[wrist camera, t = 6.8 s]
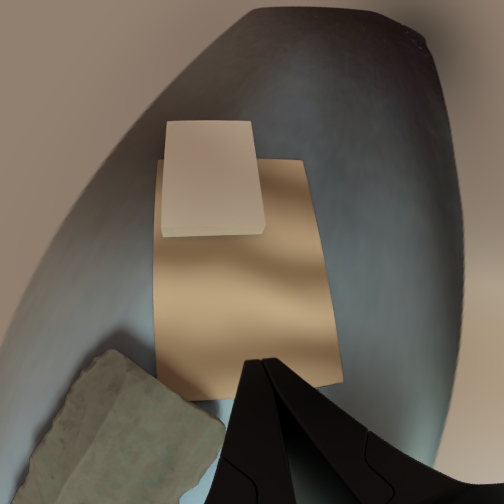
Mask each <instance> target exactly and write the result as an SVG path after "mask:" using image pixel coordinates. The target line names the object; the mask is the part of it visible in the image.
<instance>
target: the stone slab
mask: <svg viewBox="0 0 504 504" xmlns="http://www.w3.org/2000/svg"><path fill="white" fill-rule="evenodd" d="M225 433H226V427H225V425H224V423H223V422H222V421H221V420H220V419H219V418H217V417H216V416H214V415H213V414H211V413H209V412H207V411H206V410H204V409H203V408H201V407H199V406H198V405H196V404H194V403H192V402H190V401H188V400H187V399H185V398H183V397H182V396H180V395H179V394H177V393H176V392H174V391H173V390H172V389H170V388H169V387H167V386H166V385H164V384H163V383H162V382H160V381H159V380H157V379H156V378H154V377H153V376H152V375H150V374H149V373H147V372H146V371H144V370H143V369H142V368H141V367H139V366H138V365H137V364H135V363H134V362H132V361H131V360H130V359H129V358H127V357H126V356H125V355H124V354H122V353H120V352H118V351H117V350H115V349H114V348H110V349H108V350H107V351H105V352H104V353H103V354H101V355H99V356H96V357H94V358H93V360H92V362H91V364H90V365H89V366H88V367H86V368H84V369H83V370H81V372H80V375H79V377H78V378H77V379H76V380H75V381H74V382H73V384H72V386H71V390H70V391H69V392H68V393H67V395H66V399H65V402H64V404H63V406H62V407H61V408H60V410H59V411H58V413H57V415H56V416H55V418H54V419H53V423H52V427H51V428H50V430H49V431H48V432H47V433H46V434H45V436H44V438H43V440H42V441H41V443H40V444H39V445H38V446H37V447H36V448H35V450H34V451H33V453H32V454H31V456H30V465H29V473H28V474H27V476H26V478H25V482H24V484H22V485H21V486H20V487H19V490H18V491H17V493H16V495H15V497H14V499H13V500H12V503H13V504H179V499H180V497H181V496H182V495H183V494H184V493H185V492H186V491H188V490H190V489H192V488H193V487H195V486H196V485H198V483H199V481H200V479H201V478H202V476H203V475H204V474H205V472H206V470H207V469H208V468H209V467H210V465H211V464H212V463H213V462H214V460H215V459H216V458H217V455H218V452H219V450H220V449H221V448H222V446H223V443H224V439H225Z"/></svg>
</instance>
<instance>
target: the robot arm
mask: <svg viewBox="0 0 504 504" xmlns="http://www.w3.org/2000/svg"><path fill="white" fill-rule="evenodd" d="M204 504H504V483H497V484H470V483H465V482H461V481H458V480H455V479H453V478H451V477H449V476H447V475H445V474H443V473H441V472H439V471H436V470H435V469H433V468H431V467H429V466H427V465H425V464H423V463H421V462H419V461H417V460H415V459H413V458H412V457H410V456H408V455H406V454H405V453H403V452H401V451H399V450H398V449H396V448H395V447H393V446H392V445H390V444H389V443H387V442H386V441H384V440H383V439H381V438H380V437H378V436H377V435H376V434H374V433H373V432H372V431H368V429H367V428H366V427H365V426H363V425H362V424H361V423H359V422H358V421H357V420H355V419H354V418H353V417H351V416H350V415H349V414H347V413H346V412H345V411H343V410H342V409H341V408H339V407H338V406H337V405H335V404H334V403H333V402H332V401H330V400H329V399H328V398H326V397H325V396H324V395H323V394H321V393H320V392H319V391H318V390H316V389H315V388H314V387H313V386H311V385H310V384H309V383H308V382H306V381H305V380H304V379H303V378H301V377H300V376H299V375H298V374H296V373H295V372H294V371H293V370H292V369H290V368H289V367H288V366H287V365H285V364H284V363H283V362H282V361H281V360H279V359H278V358H276V357H270V358H262V359H261V360H260V359H247V360H245V361H244V363H243V367H242V371H241V375H240V379H239V383H238V387H237V391H236V395H235V399H234V403H233V407H232V411H231V415H230V419H229V423H228V427H227V431H226V435H225V439H224V443H223V446H222V450H221V454H220V458H219V461H218V465H217V469H216V472H215V475H214V479H213V482H212V485H211V488H210V491H209V493H208V496H207V498H206V500H205V503H204Z"/></svg>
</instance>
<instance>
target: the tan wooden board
mask: <svg viewBox="0 0 504 504" xmlns="http://www.w3.org/2000/svg"><path fill="white" fill-rule="evenodd" d="M256 160H257V167H258V173H259V180H260V187H261V194H262V201H263V208H264V216H265V223H266V226H265V228H264V231H263V233H262V234H252V235H216V236H186V237H163V235H162V231H161V208H162V185H163V168H164V160H158V165H157V178H156V194H155V214H154V244H153V306H154V337H155V356H156V372H157V380H159V381H160V382H162V383H163V384H164V385H166V386H167V387H169V388H170V389H172V390H173V391H174V392H176V393H177V394H179V395H180V396H182V397H183V398H185V399H187V400H188V401H200V400H216V399H229V398H235V395H236V391H237V387H238V383H239V379H240V375H241V371H242V367H243V363H244V361H245V360H247V359H260V360H261V359H262V358H270V357H276V358H278V359H279V360H281V361H282V362H283V363H284V364H285V365H287V366H288V367H289V368H290V369H292V370H293V371H294V372H295V373H296V374H298V375H299V376H300V377H301V378H303V379H304V380H305V381H306V382H308V383H309V384H310V385H311V386H313V387H320V386H325V385H331V384H336V383H341V382H344V381H343V373H342V365H341V358H340V351H339V344H338V338H337V331H336V325H335V318H334V312H333V306H332V300H331V295H330V289H329V283H328V278H327V272H326V267H325V262H324V257H323V252H322V247H321V242H320V237H319V232H318V227H317V222H316V218H315V213H314V208H313V204H312V199H311V195H310V191H309V186H308V182H307V178H306V174H305V169H304V165H303V161H302V160H283V159H256Z"/></svg>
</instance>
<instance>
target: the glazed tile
mask: <svg viewBox="0 0 504 504" xmlns="http://www.w3.org/2000/svg"><path fill="white" fill-rule="evenodd" d="M265 226H266V223H265V216H264V208H263V201H262V194H261V187H260V180H259V173H258V167H257V160H256V153H255V146H254V139H253V133H252V126H251V121H223V120H197V121H167V129H166V140H165V153H164V168H163V185H162V208H161V231H162V235H163V237H186V236H216V235H252V234H262V233H263V231H264V228H265Z"/></svg>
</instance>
